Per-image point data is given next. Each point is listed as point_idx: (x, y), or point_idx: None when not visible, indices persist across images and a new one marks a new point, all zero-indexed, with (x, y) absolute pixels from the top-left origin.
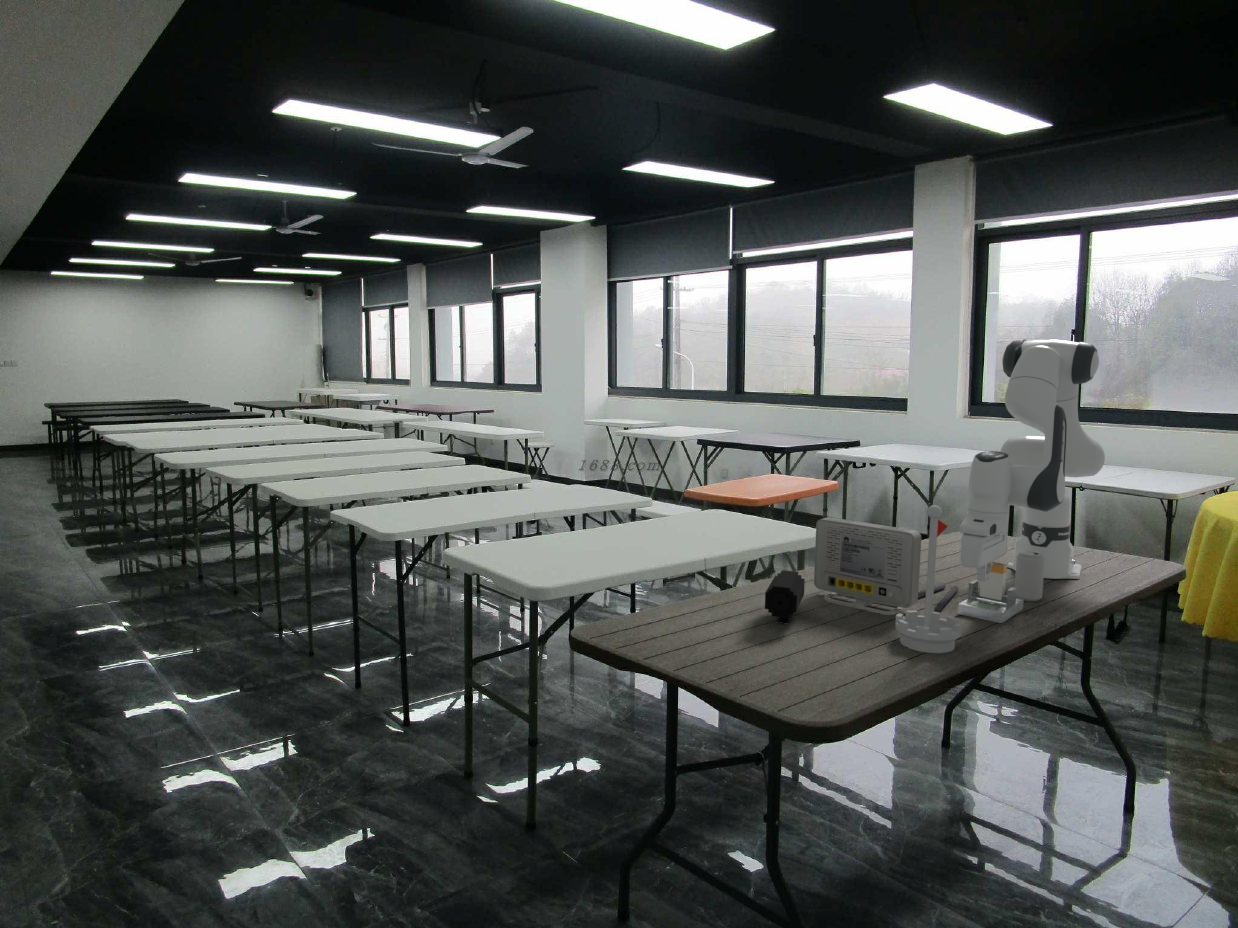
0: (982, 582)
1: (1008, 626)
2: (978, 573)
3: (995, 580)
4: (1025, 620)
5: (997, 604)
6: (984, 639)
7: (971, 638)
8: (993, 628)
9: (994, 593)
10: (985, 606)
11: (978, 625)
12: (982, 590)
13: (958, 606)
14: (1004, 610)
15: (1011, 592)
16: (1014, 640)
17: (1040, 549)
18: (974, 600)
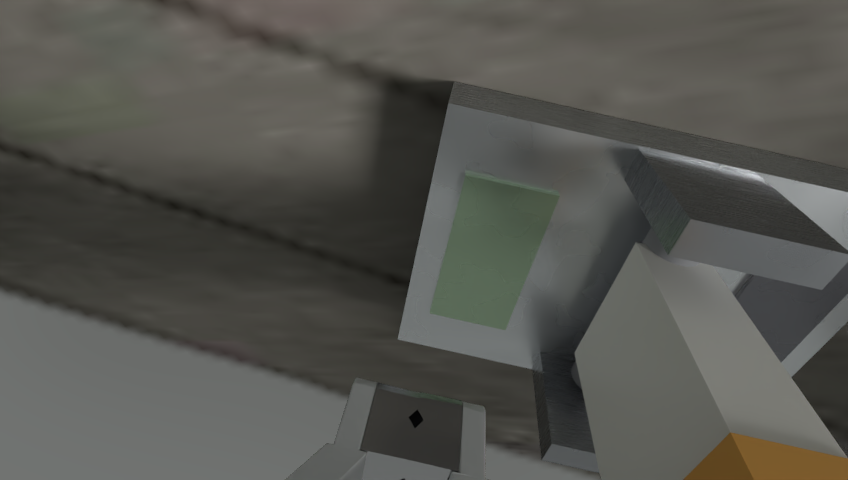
0: (663, 336)
1: (377, 320)
2: (324, 449)
3: (622, 442)
4: (516, 372)
5: (565, 317)
6: (114, 248)
7: (75, 201)
8: (300, 272)
9: (597, 350)
10: (457, 269)
11: (297, 212)
12: (640, 288)
13: (451, 97)
14: (449, 345)
15: (540, 448)
16: (205, 337)
17: None
18: (604, 196)
